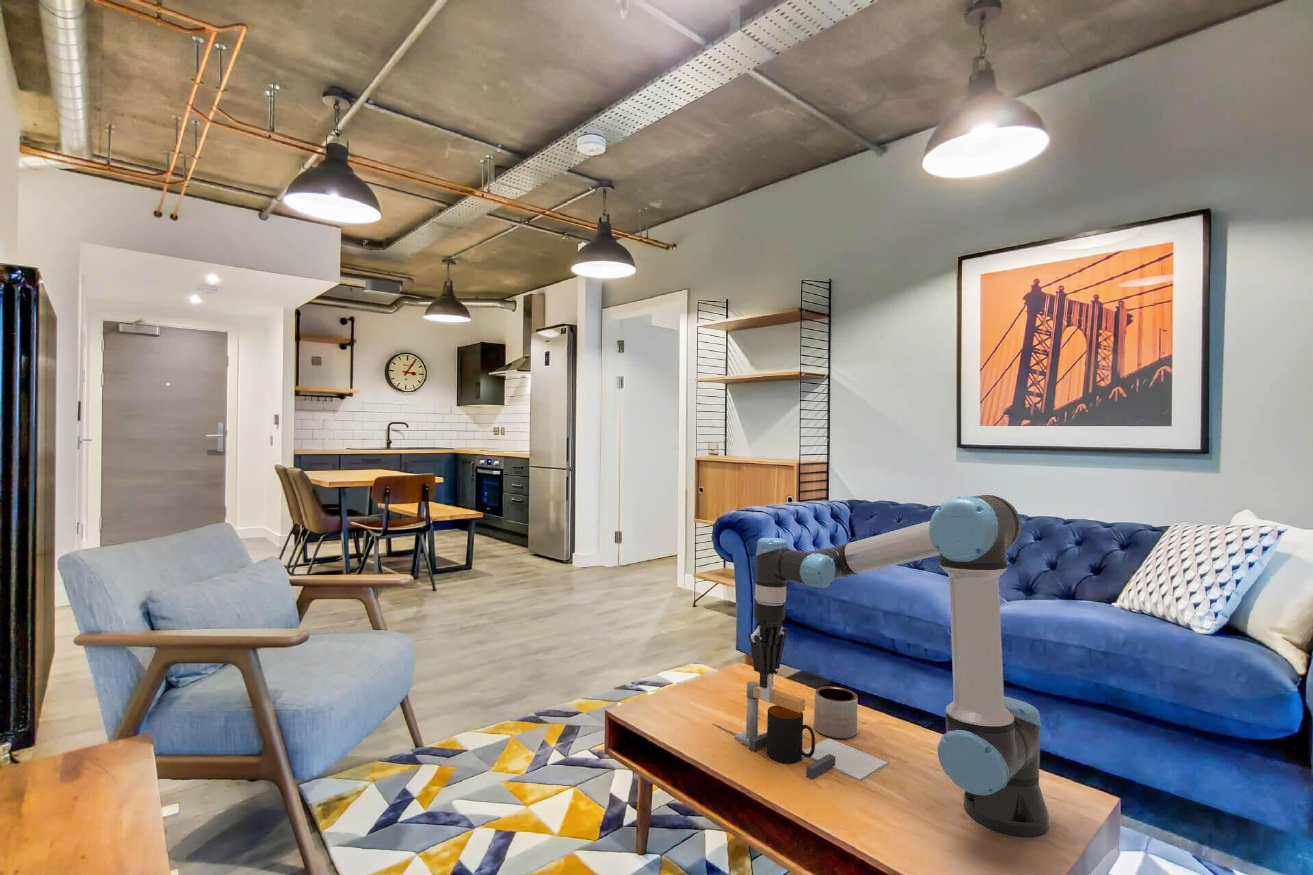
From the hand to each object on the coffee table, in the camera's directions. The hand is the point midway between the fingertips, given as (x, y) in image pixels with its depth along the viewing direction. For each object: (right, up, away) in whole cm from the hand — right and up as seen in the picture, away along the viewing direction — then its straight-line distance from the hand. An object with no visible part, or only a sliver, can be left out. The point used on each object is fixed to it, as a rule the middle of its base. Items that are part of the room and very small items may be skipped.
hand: (765, 700), depth 158 cm
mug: (+5, -12, -4) cm, 14 cm away
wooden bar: (+2, -1, 0) cm, 2 cm away
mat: (+18, -12, -4) cm, 22 cm away
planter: (+20, -13, +12) cm, 26 cm away
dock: (+3, -12, -2) cm, 13 cm away
